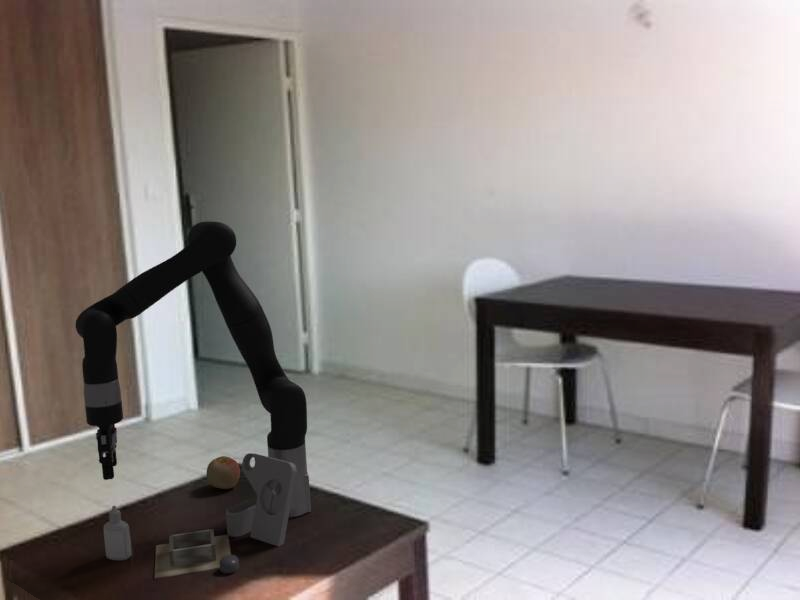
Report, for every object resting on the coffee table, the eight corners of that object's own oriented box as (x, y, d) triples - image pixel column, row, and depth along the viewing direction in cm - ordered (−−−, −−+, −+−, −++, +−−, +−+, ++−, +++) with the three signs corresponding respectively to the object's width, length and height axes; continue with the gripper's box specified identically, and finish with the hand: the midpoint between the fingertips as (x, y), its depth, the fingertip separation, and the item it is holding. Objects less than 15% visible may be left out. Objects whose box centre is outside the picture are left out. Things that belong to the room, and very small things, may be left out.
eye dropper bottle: (115, 564, 182) (110, 512, 180) (104, 556, 186) (98, 505, 184) (134, 557, 185) (129, 506, 183) (122, 550, 189) (117, 499, 187)
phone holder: (222, 536, 194) (216, 462, 191) (254, 521, 202) (249, 449, 199) (274, 554, 184) (269, 477, 181) (306, 537, 192) (301, 462, 189)
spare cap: (238, 560, 179) (238, 553, 178) (240, 574, 175) (239, 567, 174) (219, 563, 178) (218, 556, 177) (220, 577, 174) (220, 570, 173)
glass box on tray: (228, 538, 193) (226, 520, 192) (232, 569, 177) (231, 549, 177) (156, 549, 189) (154, 530, 188) (154, 582, 173) (153, 561, 173)
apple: (225, 479, 231) (222, 451, 229) (248, 485, 225) (245, 456, 224) (201, 490, 224) (198, 461, 222) (223, 496, 218) (221, 467, 217)
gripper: (119, 407, 174) (126, 481, 177) (123, 390, 188) (130, 459, 191) (81, 411, 173) (89, 486, 175) (88, 394, 186) (95, 463, 189)
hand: (110, 472), depth 183 cm, fingers open, 8 cm apart
